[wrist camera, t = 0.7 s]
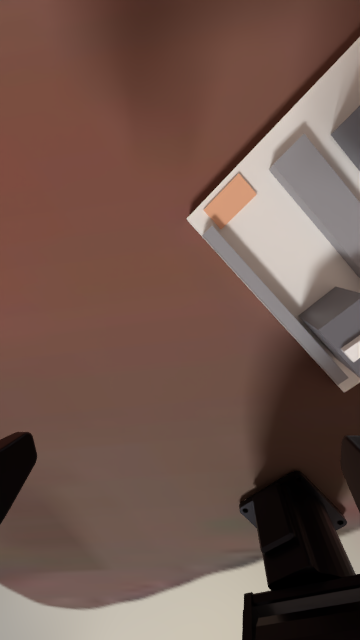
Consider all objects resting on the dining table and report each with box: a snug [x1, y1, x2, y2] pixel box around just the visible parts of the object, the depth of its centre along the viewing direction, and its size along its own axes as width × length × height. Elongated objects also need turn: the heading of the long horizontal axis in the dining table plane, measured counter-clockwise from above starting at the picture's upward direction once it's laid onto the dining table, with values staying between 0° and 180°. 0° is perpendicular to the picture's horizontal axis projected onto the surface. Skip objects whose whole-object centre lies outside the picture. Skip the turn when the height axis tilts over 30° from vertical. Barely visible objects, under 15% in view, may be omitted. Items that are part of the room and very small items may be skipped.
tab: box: [299, 287, 360, 378], centre depth 15 cm, size 4×3×4 cm
